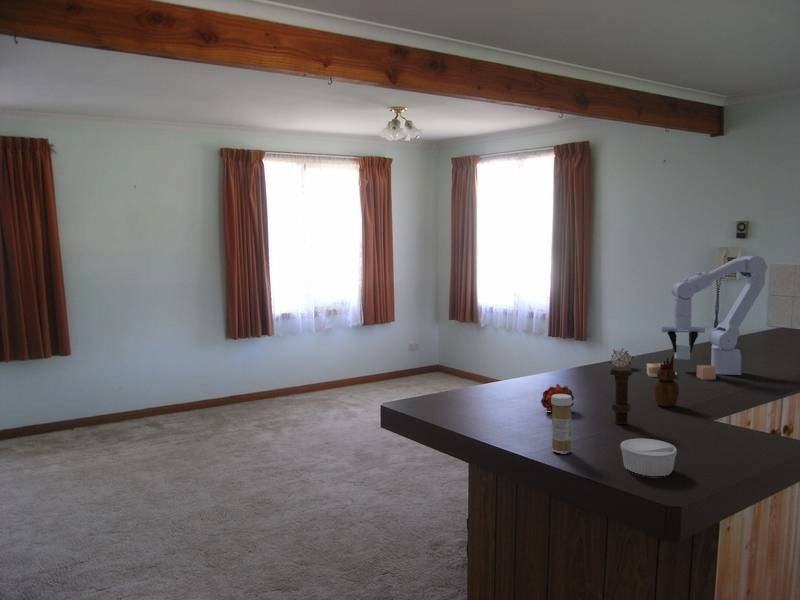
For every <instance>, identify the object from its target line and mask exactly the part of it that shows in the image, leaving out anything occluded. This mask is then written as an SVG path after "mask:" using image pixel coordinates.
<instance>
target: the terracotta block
mask: <svg viewBox="0 0 800 600" xmlns="http://www.w3.org/2000/svg"><path fill="white" fill-rule="evenodd" d="M716 375H717V374H716V367H714V366H711V364H697V365H696V378H698V379H700V380H716V378H717V377H716Z"/></svg>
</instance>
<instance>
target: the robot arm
mask: <svg viewBox="0 0 800 600" xmlns="http://www.w3.org/2000/svg"><path fill="white" fill-rule="evenodd" d="M767 270H768V265H767V262H766V260H765V259H764V258H763V257H762V256H761V255H741V256H739V257H737V258H733V259H732V260H730V261H728V262H727V263H725V264H723V265H720V266H719V267H717V268H715V269H714V270H711V271H710V272H705V271H702V272H701V271H698V272H696V273H695V274H696V275H694V276H691V277H690V278H684V279H683V282H681V281H680V282H677V283H675V284H674V285H673V287H672V289H671V294H672V295H673V296H674V304H673V305H674V306H673V307H674V308H673V309H674V310H673V311H674V312H673V315H674V318H673V319H674V320H673V326H660V332H661V333H662V334H663V333H667V335H668V337H669V339H670V342H671V345H672V349H673V350H672V351H673V353H675V352H676V344H677V333H688V345H690V354H691V353H693V347H694V345H695V342H696V340H697V339H698V337H699V333H701V334H705V333H706V328H705V327H704V326H692V304H693V303H692V297H694V295H695V294H697V293H699V292H701V291H703V290H705V289H707V288H709V287H711V286H712V285H713V283H714V281H716V280H718V279H720V278H724V277H725V276H728V275H729V274H732V273H735V272H736V273H737V272H738V273H739V274H740V275H741V276H742V277H743V279H744V281H745V285H744V286H743V288H742V290H741V291H740V294H739V295H738V297H737V298H736V300H735V301H734V303H733V305H732V307H731V308H730V310H729V312H728V313H727V314H726V317H725V318H724V320H723V321H722V322H720V323H718V324H717V326H716V327H715V329H713V330H712V331H710V332H709V334H708V340H709V343H710V344H711V352H710V353H711V358H710V359H711V362H710V365H711V366H714V367H716V375H725V376H728V375H729V376H730V375H731V376H732V375H733V376H735V375H737V376H741V375H742V353H741V350H740V349H737V348H736V349H735V347H736V346H737V344H738V337H739V336H740V327H741V325H742V323H743V321H744V320H745V318H746V316H747V315H748V313H749V311H750V310H751V308H752V306H753V305H754V303H755V301H756V300H757V298H758V296H759V295H760V293H761V292H762V290H763V288H764V287H765V284H766V271H767Z"/></svg>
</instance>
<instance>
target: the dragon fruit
mask: <svg viewBox="0 0 800 600" xmlns="http://www.w3.org/2000/svg"><path fill="white" fill-rule="evenodd" d="M555 394H567V395H570V396H571V397H572V401H574V400H575V396H574V395H573V391H572V390H571V389H569V387H568V386H566V385H564V386H563V387H562V386H560V384H558V383H557V384H556V386H550V387H549V388H548V389H546V390H544V391H543V392H542V398H541V400H540V403H541V405H542V407H543V408H545V409H546V410H545V411H551V412H552V403H551V397H552V395H555ZM574 405H575V403H574V402H572V404H571V408H572V407H573V406H574Z"/></svg>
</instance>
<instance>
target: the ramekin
mask: <svg viewBox="0 0 800 600" xmlns="http://www.w3.org/2000/svg"><path fill="white" fill-rule="evenodd" d="M620 450H621V453H622V454H621V455H622V461H623V466H624V468H625V469H626V470H627V469H628V470H630V471H632V472H635V473H638V474H642V475H647V476H664V477H667V476H669V475H670V474H671V473H672V472H673V470H674V466H675V461H676V460H675V459H676V456H677V454H678V449H677V448H676V447H675V445H673V444H671V443H669V442H667V441H663V440H659V439H651V438H641V437H640V438H630V439H625V440H623V441H622V442H621V443H620ZM628 470H627V471H628ZM666 475H667V476H666Z"/></svg>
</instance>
